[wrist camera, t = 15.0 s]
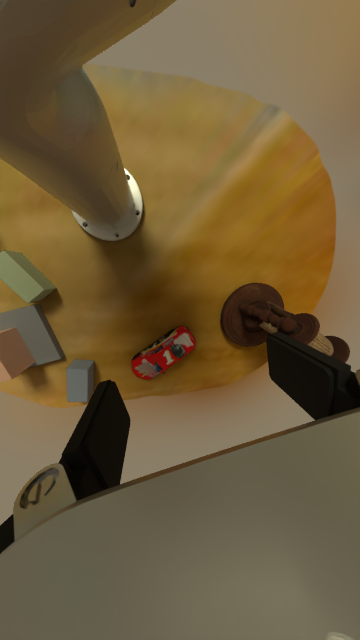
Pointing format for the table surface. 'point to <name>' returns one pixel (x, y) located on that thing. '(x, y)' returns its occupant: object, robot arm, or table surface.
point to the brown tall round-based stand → (273, 321)
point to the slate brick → (80, 380)
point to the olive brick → (23, 277)
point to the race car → (163, 353)
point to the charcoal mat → (33, 333)
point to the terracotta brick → (13, 354)
